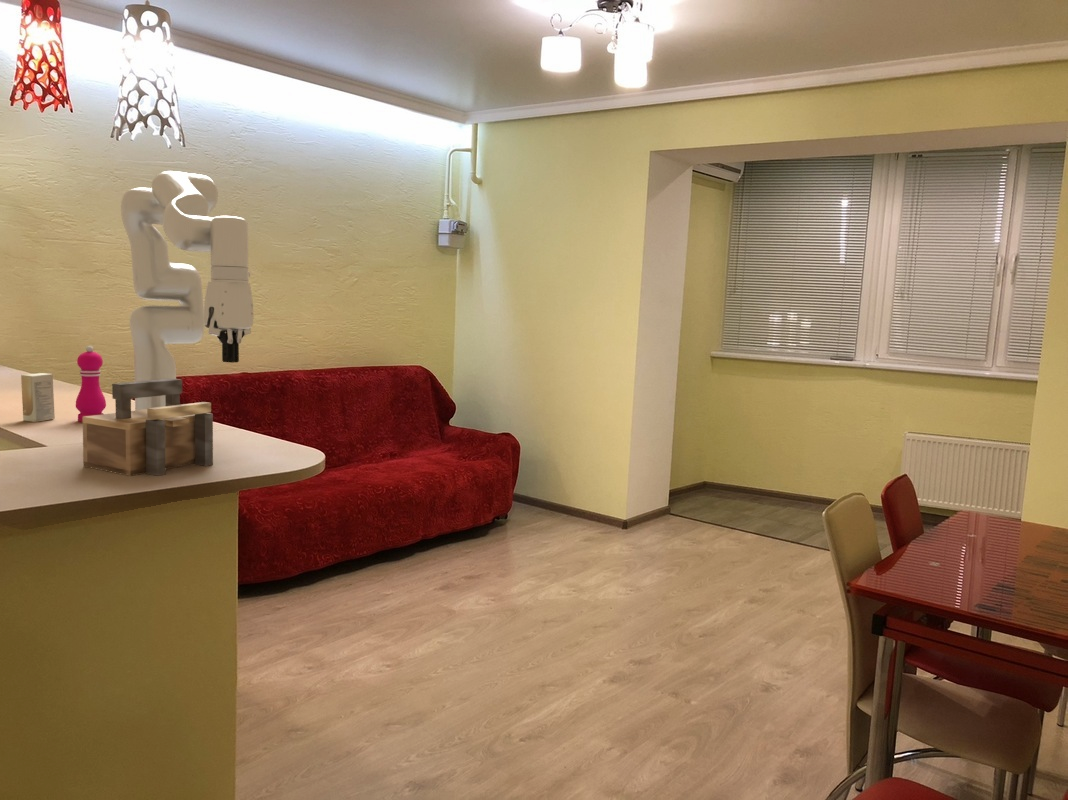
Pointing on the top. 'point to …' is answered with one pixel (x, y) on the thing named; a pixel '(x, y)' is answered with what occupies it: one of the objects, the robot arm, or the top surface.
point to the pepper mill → (90, 385)
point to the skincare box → (37, 397)
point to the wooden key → (178, 410)
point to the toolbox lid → (138, 418)
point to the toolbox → (149, 446)
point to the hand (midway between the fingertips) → (230, 361)
